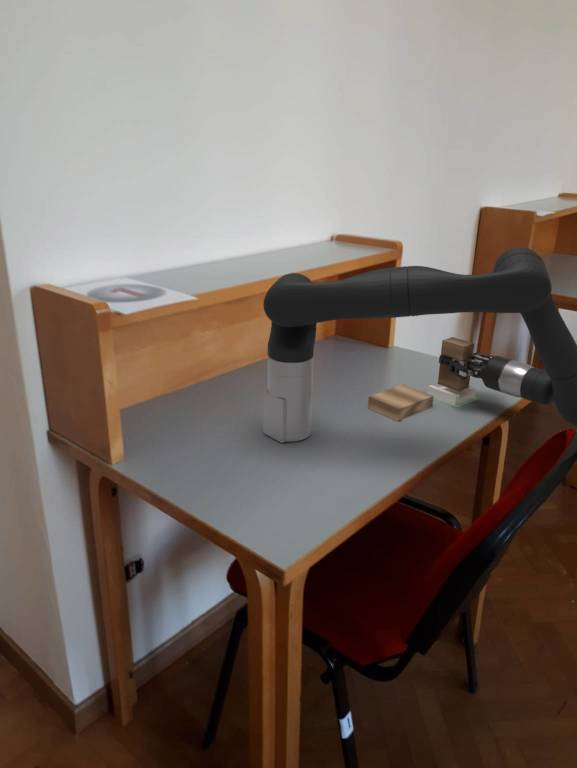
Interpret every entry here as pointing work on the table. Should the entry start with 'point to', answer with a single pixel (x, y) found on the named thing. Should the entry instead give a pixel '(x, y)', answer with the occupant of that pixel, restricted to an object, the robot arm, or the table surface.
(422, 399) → the flat wooden block
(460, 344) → the tall wooden pillar
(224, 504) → the table surface
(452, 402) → the rack
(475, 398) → the mat
